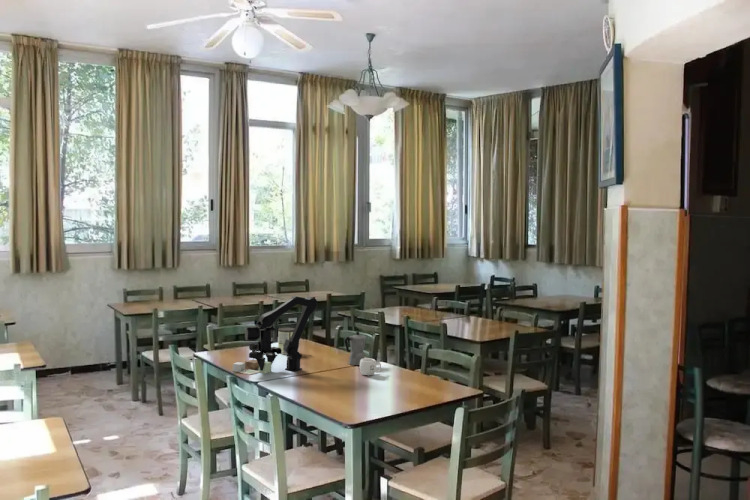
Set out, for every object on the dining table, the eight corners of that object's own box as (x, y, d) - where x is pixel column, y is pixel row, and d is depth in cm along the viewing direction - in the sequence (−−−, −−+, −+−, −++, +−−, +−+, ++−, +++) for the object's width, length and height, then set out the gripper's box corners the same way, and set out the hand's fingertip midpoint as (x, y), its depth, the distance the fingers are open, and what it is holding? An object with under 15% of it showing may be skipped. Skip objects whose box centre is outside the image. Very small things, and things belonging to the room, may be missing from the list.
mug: (363, 377, 324) (364, 362, 324) (356, 373, 331) (356, 358, 331) (384, 375, 330) (385, 360, 329) (377, 371, 337) (377, 356, 337)
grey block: (245, 370, 331) (245, 363, 331) (240, 372, 327) (240, 364, 327) (237, 369, 333) (237, 362, 332) (232, 371, 328) (232, 363, 328)
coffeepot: (361, 361, 361) (362, 329, 360) (371, 364, 354) (372, 331, 353) (338, 364, 351) (339, 331, 350) (349, 367, 344) (350, 334, 343)
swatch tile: (259, 372, 328) (259, 371, 328) (249, 374, 322) (249, 373, 322) (249, 370, 332) (249, 369, 332) (239, 372, 326) (239, 371, 326)
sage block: (271, 371, 330) (271, 362, 330) (265, 373, 326) (265, 363, 326) (264, 370, 332) (264, 361, 332) (258, 372, 329) (258, 362, 328)
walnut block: (261, 368, 337) (261, 360, 337) (253, 370, 332) (254, 362, 332) (252, 366, 340) (252, 359, 340) (244, 368, 335) (245, 361, 335)
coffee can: (280, 350, 383) (280, 326, 382) (297, 351, 382) (297, 327, 381) (275, 354, 373) (276, 329, 372) (293, 354, 372) (293, 330, 371)
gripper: (266, 334, 341) (265, 364, 341) (241, 339, 325) (240, 370, 326) (282, 337, 335) (281, 367, 335) (257, 342, 319) (257, 373, 320)
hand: (265, 369), depth 329 cm, fingers open, 5 cm apart
